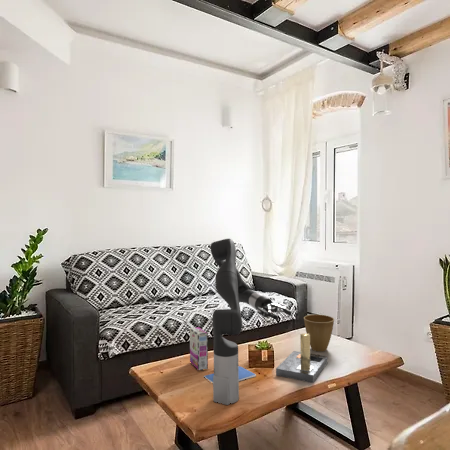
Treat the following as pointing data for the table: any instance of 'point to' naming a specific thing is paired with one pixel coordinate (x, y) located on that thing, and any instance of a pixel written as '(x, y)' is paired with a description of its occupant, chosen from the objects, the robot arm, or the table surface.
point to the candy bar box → (199, 348)
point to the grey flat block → (294, 370)
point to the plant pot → (319, 331)
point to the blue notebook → (242, 374)
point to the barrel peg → (305, 350)
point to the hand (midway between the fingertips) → (284, 315)
